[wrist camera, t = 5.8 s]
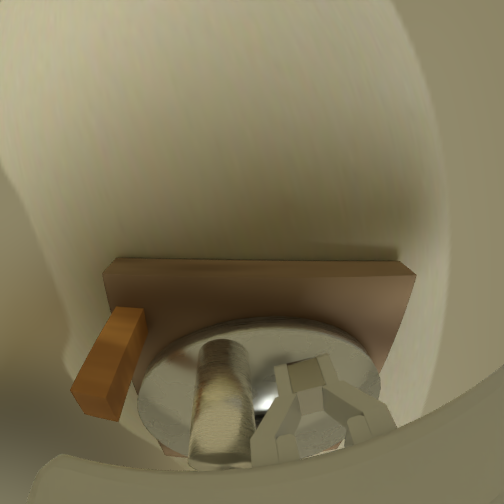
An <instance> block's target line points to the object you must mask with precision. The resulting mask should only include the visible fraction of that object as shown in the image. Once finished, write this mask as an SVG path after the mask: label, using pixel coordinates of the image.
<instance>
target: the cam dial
mask: <svg viewBox="0 0 504 504" xmlns="http://www.w3.org/2000/svg"><path fill="white" fill-rule="evenodd" d="M325 353H328V354H329V356H330V359H331V361H332V363H333V366H334V368H335V371H336V373H337V376H338V378H339V381H342V380H344V381H345V382H347V383H349V384H351V385H352V386H354V387H356V388H358V389H359V390H361V391H363V392H365V393H366V394H368V395H370V396H372V397H374V398H375V399H377V400H378V398H379V394H380V388H381V386H380V377H379V373H378V370H377V369H376V367H375V365H374V363H373V362H372V360H371V358H370V356H369V355H368V353H367V351H366V350H365V348H364V347H363V346H362V345H361V344H360V342H359V341H358V340H357V339H356V338H354V337H353V336H351V335H350V334H348V333H347V332H345V331H343V330H341V329H339V328H337V327H335V326H333V325H329V324H326V323H323V322H319V321H316V320H310V319H304V318H298V317H284V316H267V317H252V318H243V319H236V320H231V321H226V322H222V323H217V324H214V325H211V326H207V327H204V328H201V329H198V330H196V331H194V332H191V333H189V334H187V335H185V336H182V337H181V338H179V339H177V340H176V341H174V342H172V343H171V344H169V345H168V346H166V347H165V348H164V349H163V350H162V351H160V352H159V353H158V354H157V355H156V356H155V358H154V359H153V360H152V361H151V362H150V364H149V366H148V368H147V370H146V372H145V374H144V377H143V381H142V384H141V388H140V391H139V395H138V399H137V406H138V412H139V416H140V418H141V420H142V422H143V424H144V426H145V427H146V428H147V430H148V431H149V432H150V433H151V434H152V435H153V436H154V437H155V438H156V439H157V440H158V441H160V442H161V443H162V444H164V445H165V446H167V447H168V448H170V449H172V450H173V451H176V452H178V453H180V454H182V455H184V456H187V457H188V464H189V465H190V466H191V467H192V468H194V469H196V470H198V471H215V470H231V469H242V468H252V463H251V448H250V439H251V437H252V436H253V434H254V433H255V431H256V429H257V428H258V426H259V424H260V423H261V421H262V419H263V418H264V416H265V414H266V413H267V411H268V409H269V408H270V406H271V404H272V402H273V401H274V399H275V397H279V395H278V389H277V384H276V378H275V372H274V366H277V365H282V364H286V363H291V362H295V361H299V360H303V359H307V358H311V357H314V356H315V357H316V356H318V355H322V354H325ZM286 365H287V364H286ZM287 370H288V369H287ZM345 435H346V428H345V427H343V426H342V425H341V424H339V423H338V422H337V421H336V420H334V419H333V418H332V417H331V416H329V415H328V414H327V413H326V412H324V411H319V412H315V413H311V414H308V415H304V416H302V418H301V420H300V423H299V425H298V428H297V430H296V432H295V435H294V436H295V438H296V442H297V446H298V450H299V453H300V457H301V459H303V458H306V457H309V456H312V455H314V454H317V453H319V452H322V451H324V450H326V449H328V448H330V447H332V446H333V445H335V444H337V443H338V442H340V441H342V440H343V439H345Z"/></svg>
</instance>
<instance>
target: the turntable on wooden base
mask: <svg viewBox="0 0 504 504" xmlns="http://www.w3.org/2000/svg"><path fill="white" fill-rule="evenodd" d="M102 274H103V280H104V284H105V289H106V294H107V298H108V302H109V306H110V310H111V316H110V317H109V319H108V321H107V322H106V324H105V326H104V328H103V329H102V331H101V333H100V335H99V336H98V338H97V340H96V342H95V343H94V345H93V347H92V349H91V351H90V352H89V354H88V356H87V358H86V360H85V362H84V364H83V365H82V367H81V369H80V371H79V373H78V375H77V377H76V379H75V381H74V383H73V385H72V387H71V389H70V391H71V393H72V394H73V396H74V398H75V399H76V401H77V403H78V404H79V406H80V407H81V409H82V410H83V412H84V414H87V415H90V416H94V417H98V418H103V419H107V420H112V421H116V422H119V418H120V415H121V412H122V408H123V405H124V402H125V399H126V395H127V392H128V389H129V386H130V383H131V380H132V382H133V384H134V387H135V390H136V392H137V395H139V391H140V388H141V384H142V381H143V377H144V374H145V372H146V370H147V368H148V366H149V364H150V362H151V361H152V360H153V359H154V358H155V356H156V355H157V354H158V353H159V352H160V351H162V350H163V349H164V348H165V347H166V346H168V345H169V344H171V343H172V342H174V341H176V340H177V339H179V338H181V337H182V336H185V335H187V334H189V333H191V332H194V331H196V330H198V329H201V328H204V327H207V326H211V325H214V324H217V323H222V322H226V321H231V320H236V319H243V318H252V317H267V316H284V317H298V318H304V319H310V320H316V321H319V322H323V323H326V324H329V325H333V326H335V327H337V328H339V329H341V330H343V331H345V332H347V333H348V334H350V335H351V336H353V337H354V338H356V339H357V340H358V341H359V342H360V344H361V345H362V346H363V347H364V348H365V350H366V351H367V353H368V355H369V356H370V358H371V360H372V362H373V363H374V365H375V367H376V369H377V370H378V373H380V371H381V369H382V367H383V365H384V362H385V360H386V358H387V356H388V353H389V351H390V349H391V346H392V344H393V342H394V339H395V337H396V334H397V332H398V329H399V327H400V324H401V321H402V318H403V316H404V313H405V310H406V307H407V304H408V301H409V298H410V295H411V292H412V289H413V286H414V283H415V279H416V276H417V275H416V274H415V273H414V272H412V271H411V270H410V269H409V268H408V267H406V266H405V265H404V264H403V263H401V262H400V261H265V260H194V259H143V258H116V259H115V260H114V261H113V262H112V263H111V264H110V265H109V267H108V268H107V269H106V270H105V271H104V272H103V273H102ZM158 442H159V444H160V446H161V448H162V450H163V452H164V454H165V455H166V456H175V457H186V458H188V457H187V456H184V455H182V454H180V453H178V452H176V451H173V450H172V449H170V448H168V447H167V446H165V445H164V444H162V443H161V442H160V441H158ZM340 443H341V441H340V442H338V443H337V444H335V445H333V446H332V447H330V448H328V449H326V450H324V451H327V450H333V449H337V448H338V446H339V445H340Z"/></svg>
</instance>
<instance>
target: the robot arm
mask: <svg viewBox="0 0 504 504" xmlns="http://www.w3.org/2000/svg"><path fill="white" fill-rule="evenodd" d="M286 364H287V365H286ZM286 364H282V365H277V366H274V372H275V378H276V384H277V389H278V395H279V397H275V399H274V401H273V402H272V404H271V406H270V408H269V409H268V411H267V413H266V414H265V416H264V418H263V419H262V421H261V423H260V424H259V426H258V428H257V429H256V431H255V433H254V434H253V436H252V437H251V439H250V448H251V463H252V468H242V469H231V470H215V471H169V470H153V469H142V468H133V467H125V466H118V465H112V464H105V463H101V462H96V461H91V460H86V459H82V458H78V457H74V456H70V455H66V454H60V455H58V456H57V457H55V458H54V459H52V460H51V461H49V463H47V464H46V465H44V466H43V467H42V468H41V469H40V470H39V472H38V473H37V475H36V477H35V479H34V482H33V484H32V487H31V490H30V492H29V496H28V499H27V502H26V504H504V365H502V366H501V367H500V368H499V369H498V370H496V371H495V372H493V373H492V374H491V375H489V376H488V377H487V378H485V379H484V380H482V381H481V382H480V383H478V384H477V385H475V386H474V387H472V388H471V389H469V390H468V391H466V392H465V393H463V394H461V395H460V396H458V397H457V398H455V399H453V400H452V401H450V402H448V403H447V404H445V405H443V406H441V407H439V408H438V409H436V410H434V411H432V412H430V413H429V414H426V415H424V416H422V417H420V418H418V419H416V420H414V421H412V422H410V423H408V424H406V425H404V426H401V427H399V428H397V426H396V424H395V422H394V420H393V418H392V416H391V414H390V412H389V410H388V407H387V405H386V404H384V403H383V402H381V401H379V400H377V399H375V398H374V397H372V396H370V395H368V394H366V393H365V392H363V391H361V390H359V389H358V388H356V387H354V386H352V385H351V384H349V383H347V382H345V381H344V380H342V381H339V378H338V376H337V373H336V371H335V368H334V366H333V363H332V361H331V359H330V356H329V354H328V353H325V354H322V355H318V356H316V357H315V356H314V357H311V358H307V359H303V360H299V361H295V362H291V363H286ZM287 369H288V370H287ZM319 411H324V412H326V413H327V414H328V415H329V416H331V417H332V418H333V419H334V420H336V421H337V422H338V423H339V424H341V425H342V426H343V427H345V428H346V435H345V444H344V447H345V448H342V449H339V450H336V451H332V452H329V453H325V454H321V455H317V456H313V457H309V458H304V459H301V457H300V453H299V450H298V446H297V442H296V438H295V436H294V435H295V432H296V430H297V428H298V425H299V423H300V420H301V418H302V416H304V415H308V414H311V413H315V412H319Z"/></svg>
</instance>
